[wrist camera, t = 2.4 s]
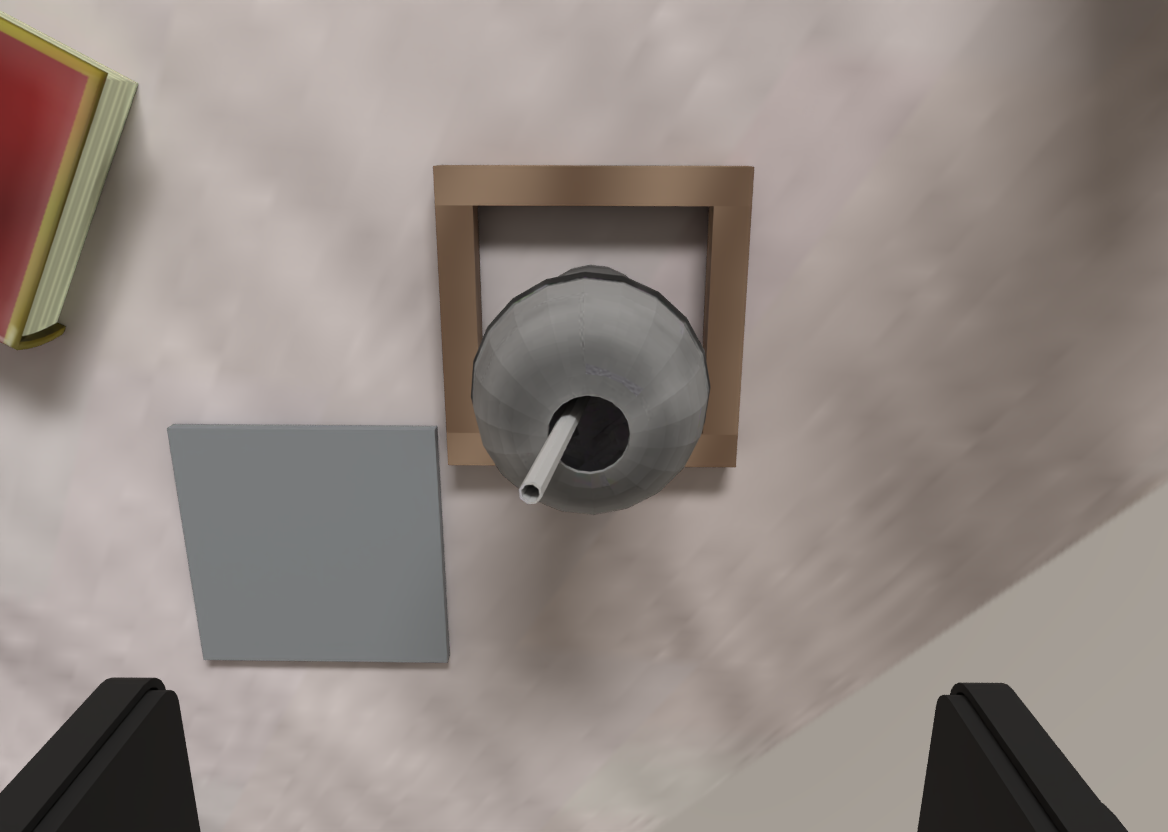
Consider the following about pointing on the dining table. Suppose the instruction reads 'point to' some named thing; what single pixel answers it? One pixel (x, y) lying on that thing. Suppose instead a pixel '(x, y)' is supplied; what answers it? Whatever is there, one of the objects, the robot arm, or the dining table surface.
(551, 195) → the frame
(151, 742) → the robot arm
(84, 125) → the hardcover book
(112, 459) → the dining table surface
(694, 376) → the beverage cup
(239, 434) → the slate mat
